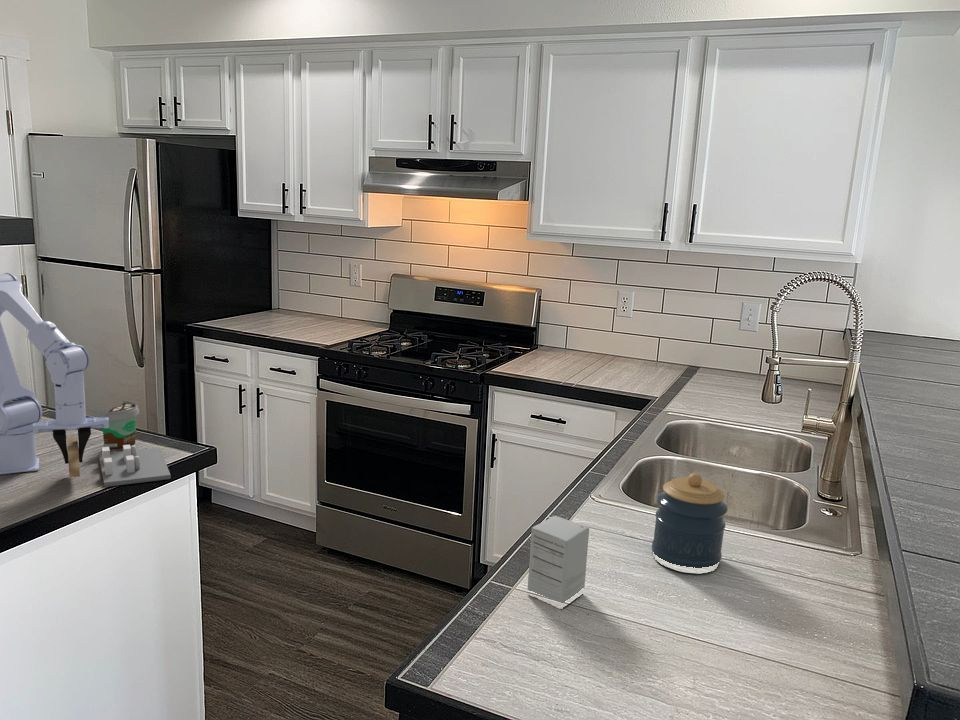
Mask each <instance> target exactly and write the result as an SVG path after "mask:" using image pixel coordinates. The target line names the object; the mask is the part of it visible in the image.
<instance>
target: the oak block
mask: <svg viewBox="0 0 960 720" xmlns="http://www.w3.org/2000/svg"><path fill="white" fill-rule="evenodd" d="M66 444H67V451H68V462H69V464H68V477H69V478H76V477H81V473H80V472H81V469H80V462H79V450H78V449H79V441H78V435H72V436H66Z"/></svg>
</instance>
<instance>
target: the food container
mask: <svg viewBox="0 0 960 720" xmlns="http://www.w3.org/2000/svg"><path fill="white" fill-rule="evenodd" d="M139 414H140V410H139V406H138V405H137V402H134V401H132V400H126V399H125V400H123V399H122V404H120V405H118V406H115V407H112V408H111V409H110V410H109V411H101V412H100V417H99V418H106V417H108V419H109V428H101V429H102V437H103V446H104V447H109V449H110V451H117V450H118V451H119V450H123V445H130V446H133V445H136V435H137V433H136V432H137V416H138V415H139Z"/></svg>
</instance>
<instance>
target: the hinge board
mask: <svg viewBox="0 0 960 720" xmlns="http://www.w3.org/2000/svg"><path fill="white" fill-rule="evenodd" d="M98 458H99V463H100V465H99V466H100V470H101V475H102V476H101V477H102V481H103V486H104V488H106V487H114V486H115V487H116V486H124V485H130V484H141V483H147V482H157V481H163V480H171V478H172V477H171V475H172V474H171V473H170V470H169V467H168V465H167V463H166V460H165V458H164V455H163V452H162V450H161V448H160V447H151V448H142V449H141V448H139V449H137V446H136V444H134V445H133V446H130V445H123V449H122V451H112V452H111V450H110V449H109V447H103V446H102V447H101V452H100V453H98Z"/></svg>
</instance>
